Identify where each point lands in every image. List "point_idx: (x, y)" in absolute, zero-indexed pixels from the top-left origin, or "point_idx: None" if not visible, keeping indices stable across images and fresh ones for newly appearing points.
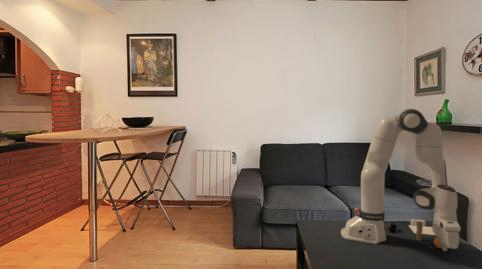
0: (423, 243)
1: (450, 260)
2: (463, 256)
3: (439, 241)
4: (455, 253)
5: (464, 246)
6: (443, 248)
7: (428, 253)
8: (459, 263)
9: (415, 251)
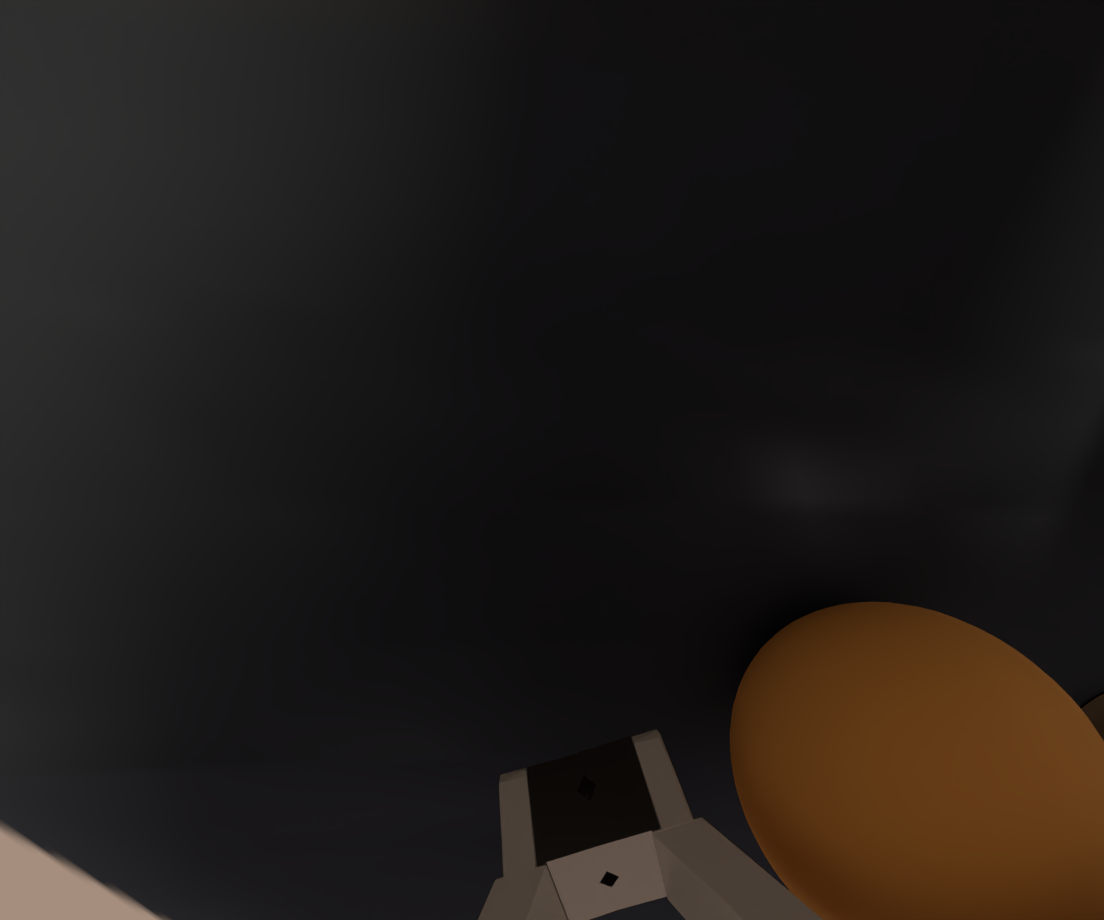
0: (994, 335)
1: (225, 804)
2: None
3: (831, 837)
4: None
5: None
6: (503, 837)
7: (328, 432)
8: (191, 902)
9: (214, 7)
